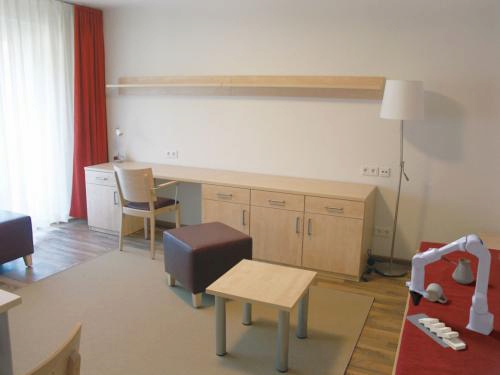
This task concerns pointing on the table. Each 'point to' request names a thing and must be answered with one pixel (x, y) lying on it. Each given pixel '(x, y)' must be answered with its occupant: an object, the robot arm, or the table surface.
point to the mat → (427, 329)
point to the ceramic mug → (435, 293)
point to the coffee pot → (462, 271)
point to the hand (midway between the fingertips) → (416, 305)
